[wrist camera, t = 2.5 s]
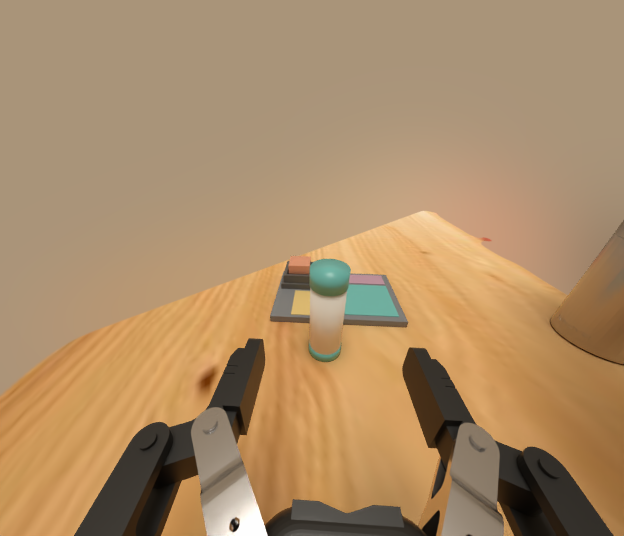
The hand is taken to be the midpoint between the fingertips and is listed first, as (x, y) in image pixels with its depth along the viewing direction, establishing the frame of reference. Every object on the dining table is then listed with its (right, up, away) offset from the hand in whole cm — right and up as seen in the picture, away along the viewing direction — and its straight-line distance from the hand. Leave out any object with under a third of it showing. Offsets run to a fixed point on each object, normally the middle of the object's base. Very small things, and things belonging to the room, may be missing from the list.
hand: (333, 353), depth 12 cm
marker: (0, -6, +16) cm, 17 cm away
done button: (-3, +5, +27) cm, 28 cm away
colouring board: (+3, 0, +26) cm, 26 cm away
